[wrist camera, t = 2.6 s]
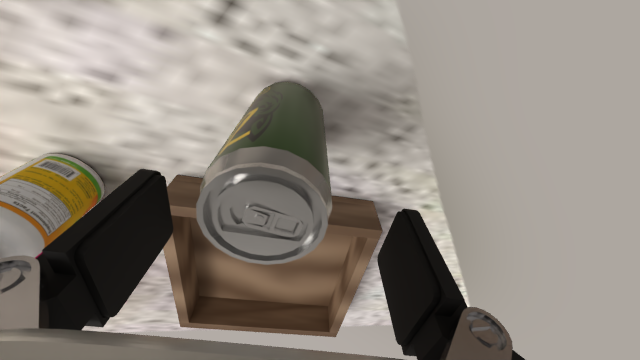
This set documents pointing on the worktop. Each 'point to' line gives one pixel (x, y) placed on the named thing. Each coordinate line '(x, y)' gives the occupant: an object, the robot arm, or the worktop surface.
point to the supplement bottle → (44, 202)
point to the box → (267, 272)
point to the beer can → (270, 180)
